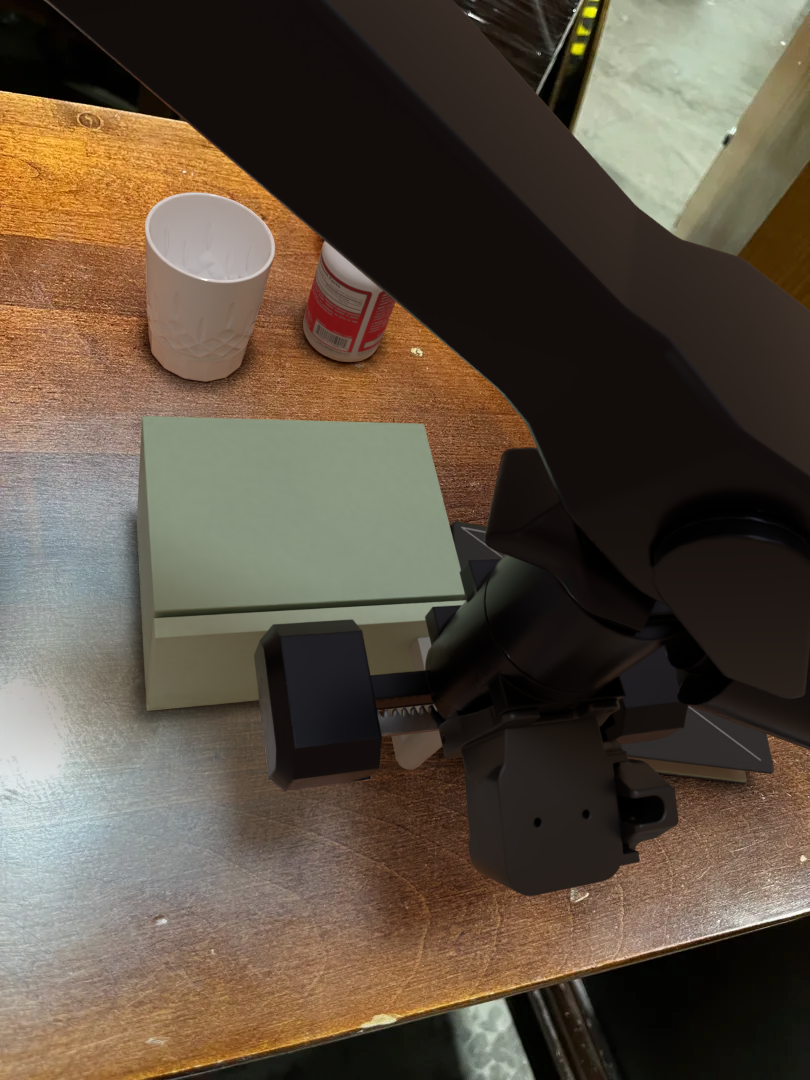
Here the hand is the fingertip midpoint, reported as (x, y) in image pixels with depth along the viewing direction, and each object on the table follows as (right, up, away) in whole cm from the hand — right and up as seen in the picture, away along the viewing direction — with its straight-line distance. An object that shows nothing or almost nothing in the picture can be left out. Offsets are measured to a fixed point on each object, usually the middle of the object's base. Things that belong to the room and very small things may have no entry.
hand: (420, 740), depth 41 cm
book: (+12, +2, +14) cm, 18 cm away
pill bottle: (-6, +26, +22) cm, 35 cm away
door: (-7, -1, +5) cm, 9 cm away
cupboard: (-9, +7, +9) cm, 14 cm away
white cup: (-16, +24, +17) cm, 34 cm away
